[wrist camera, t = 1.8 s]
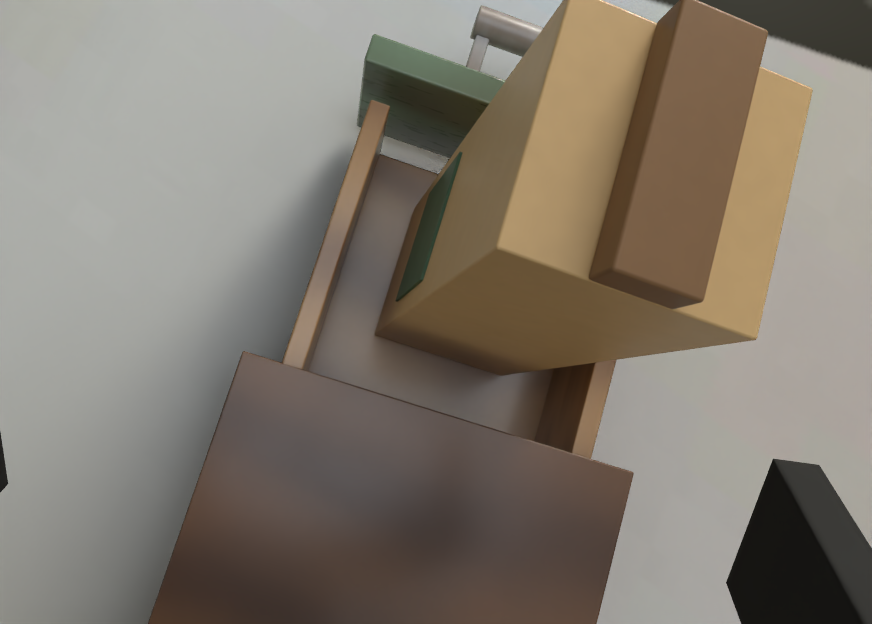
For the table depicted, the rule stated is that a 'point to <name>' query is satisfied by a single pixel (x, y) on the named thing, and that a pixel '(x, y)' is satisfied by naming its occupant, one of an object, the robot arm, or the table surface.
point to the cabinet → (384, 515)
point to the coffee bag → (606, 198)
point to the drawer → (382, 241)
